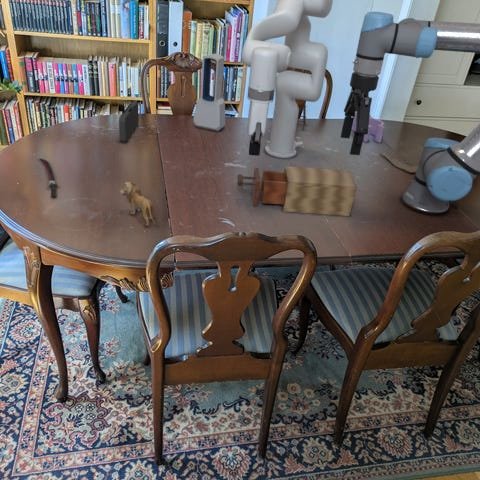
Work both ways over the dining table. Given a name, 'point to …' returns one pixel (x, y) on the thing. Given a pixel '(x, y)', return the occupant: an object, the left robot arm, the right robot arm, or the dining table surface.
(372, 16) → the right robot arm
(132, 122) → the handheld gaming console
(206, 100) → the electronic device
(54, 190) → the sword
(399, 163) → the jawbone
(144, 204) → the lion figurine
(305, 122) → the miniature windmill
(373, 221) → the dining table surface
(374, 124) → the clip
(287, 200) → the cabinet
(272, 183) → the drawer
